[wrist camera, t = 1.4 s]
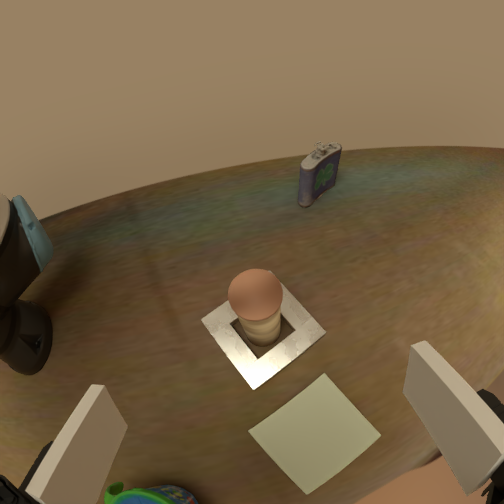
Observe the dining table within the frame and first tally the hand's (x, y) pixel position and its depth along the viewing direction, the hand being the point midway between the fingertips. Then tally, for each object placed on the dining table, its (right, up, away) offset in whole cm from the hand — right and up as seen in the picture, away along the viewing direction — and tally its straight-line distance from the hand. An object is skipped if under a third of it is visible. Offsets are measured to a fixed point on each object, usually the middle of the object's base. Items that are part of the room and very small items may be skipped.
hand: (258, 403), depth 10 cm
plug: (+1, -5, +29) cm, 30 cm away
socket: (+1, -5, +29) cm, 30 cm away
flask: (+12, +17, +42) cm, 47 cm away
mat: (+8, -19, +21) cm, 29 cm away
